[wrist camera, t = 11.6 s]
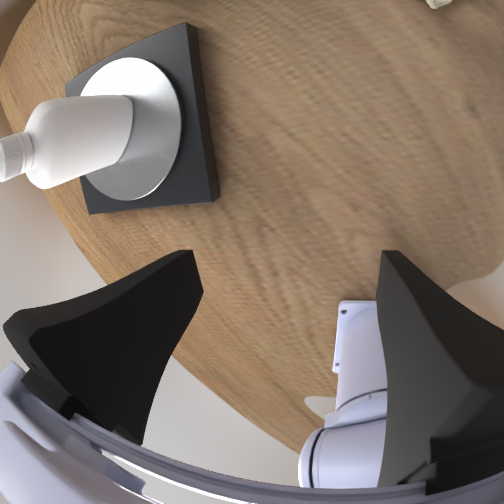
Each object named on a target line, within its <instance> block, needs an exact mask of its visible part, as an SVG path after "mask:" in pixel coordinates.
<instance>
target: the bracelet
mask: <svg viewBox="0 0 504 504" xmlns="http://www.w3.org/2000/svg"><path fill="white" fill-rule="evenodd" d="M452 1H453V0H426V2H427V3H428V4H429V5H430V7H431V8H432V9H437V8H438V7H440V6H443V5H446V4H449V3H451V2H452Z"/></svg>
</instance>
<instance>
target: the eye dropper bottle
mask: <svg viewBox="0 0 504 504" xmlns="http://www.w3.org/2000/svg"><path fill="white" fill-rule="evenodd" d="M132 119H133V105H132V102H131V100H130V99H128V98H127V97H124V96H121V95H117V94H104V95H88V96H76V97H67V98H59V99H53V100H48V101H44V102H42V103H40V104H39V105H38V106H37V107H36V108H35V110H34V111H33V113H32V115H31V117H30V118H29V121H28V123H27V125H26V128H25V131H24V132H21V133H17V134H14V135H10V136H7V137H4V138H1V139H0V181H1V182H4V181H6V180H8V179H10V178H13V177H15V176H17V175H20V174H22V173H25V172H26V174H27V176H28V178H29V180H30V181H31V182H32V183H33V184H34V185H35V186H37V187H39V188H41V189H48V188H51V187H54V186H57V185H59V184H62V183H64V182H67V181H69V180H72V179H74V178H77V177H79V176H82V175H85V174H87V173H90V172H93V171H95V170H98V169H101V168H104V167H107V166H110V165H112V164H114V163H116V162H117V161H118V160H119V158H120V157H121V155H122V153H123V151H124V149H125V147H126V145H127V142H128V139H129V136H130V132H131V127H132Z"/></svg>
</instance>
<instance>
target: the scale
mask: <svg viewBox="0 0 504 504" xmlns="http://www.w3.org/2000/svg"><path fill="white" fill-rule="evenodd" d="M130 57H132V58H141V59H145V60H149V61H151V62H153V63H155V64H157V65H158V66H160V67H161V68H163V69H164V70H165V71H166V72H167V73H168V74H169V76H170V77H171V79H172V80H173V81H174V83H175V85H176V87H177V89H178V91H179V94H180V97H181V100H182V104H183V109H184V119H185V128H184V138H183V144H182V148H181V152H180V155H179V157H178V160H177V163H176V164H175V166H174V168H173V170H172V172H171V173H170V175H169V176H168V178H167V179H166V180H165V181H164V182H163V184H162V185H161V186H159V187H158V188H157V189H156V190H155V191H153V192H151V193H150V194H148V195H146V196H144V197H141V198H139V199H135V200H117V199H114V198H111V197H109V196H106V195H105V194H103V193H101V192H100V191H99V190H98V189H96V188H95V187H94V186H93V185H92V184H91V183H90V181H89V180H88V179H87V177H86V176H85V175H82V176H79V177H80V182H81V186H82V190H83V194H84V198H85V201H86V205H87V209H88V212H89V215H92V214H99V213H107V212H116V211H124V210H133V209H143V208H153V207H164V206H175V205H188V204H201V203H213V202H214V201H215V200H217V199H218V198H219V197H220V191H219V185H218V179H217V172H216V166H215V160H214V153H213V147H212V140H211V134H210V127H209V120H208V113H207V106H206V99H205V92H204V85H203V78H202V70H201V62H200V55H199V47H198V39H197V30H196V27H195V26H193V25H191V24H189V23H187V22H185V23H182V24H179V25H177V26H174V27H171V28H169V29H166V30H164V31H161V32H159V33H156V34H154V35H152V36H149V37H147V38H145V39H143V40H140V41H138V42H136V43H134V44H132V45H130V46H128V47H126V48H124V49H122V50H120V51H118V52H116V53H114V54H112V55H111V56H109V57H107V58H105V59H103V60H102V61H100V62H98V63H97V64H95V65H93V66H92V67H90V68H88V69H87V70H85V71H84V72H82V73H80V74H79V75H77V76H76V77H74V78H73V79H71V80H70V81H69V82H67V83H66V84H65V86H66V98H67V97H76V96H80V95H81V93H82V91H83V89H84V88H85V86H86V84H87V83H88V82H89V80H90V79H91V78H92V77H93V76H94V75H95V74H96V72H98V71H99V70H100V69H101V68H102V67H104V66H106V65H107V64H109V63H111V62H113V61H115V60H118V59H122V58H130Z"/></svg>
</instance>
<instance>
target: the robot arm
mask: <svg viewBox="0 0 504 504" xmlns="http://www.w3.org/2000/svg"><path fill="white" fill-rule="evenodd" d="M203 292H204V291H203V287H202V284H201V280H200V276H199V273H198V269H197V265H196V261H195V257H194V254H193V250H178V251H175V252H173V253H170V254H168V255H166V256H164V257H162V258H160V259H158V260H156V261H154V262H152V263H151V264H149V265H147V266H145V267H143V268H141V269H139V270H137V271H136V272H134V273H132V274H130V275H128V276H126V277H124V278H122V279H120V280H118V281H116V282H114V283H112V284H109V285H107V286H105V287H103V288H100V289H98V290H96V291H93V292H91V293H88V294H85V295H82V296H79V297H76V298H73V299H70V300H67V301H63V302H60V303H56V304H51V305H47V306H42V307H36V308H29V309H22V310H19V311H17V312H15V313H14V314H13V315H12V316H11V317H10V318H9V320H7V321H6V322H5V323H4V324H3V330H4V332H5V334H6V336H7V338H8V340H9V341H10V343H11V344H12V346H13V347H14V349H15V350H16V351H17V353H18V354H19V355H20V357H21V358H22V359H23V361H24V362H25V363H26V365H27V366H28V367H29V368H30V369H29V371H28V372H27V373H26V372H25V371H24V370H23V369H22V368H21V367H20V366H18V365H17V364H16V363H15V362H13V361H10V362H9V364H8V365H7V366H6V367H5V369H4V370H3V371H2V372H1V373H0V492H1V493H2V495H3V496H4V497H5V499H6V500H7V501H8V503H9V504H163V503H161V502H158V501H156V500H154V499H152V498H149V497H147V496H145V495H143V494H142V490H143V488H144V486H145V484H146V482H145V481H144V480H142V479H140V478H138V477H137V476H135V475H133V474H131V473H130V472H128V471H126V470H125V469H123V468H122V467H120V466H119V465H117V464H116V463H115V462H113V461H112V460H110V459H109V458H107V457H105V456H104V455H102V451H101V450H103V451H105V452H107V453H108V454H110V455H112V456H114V457H116V458H117V459H120V460H121V461H123V462H125V463H127V464H129V465H131V466H133V467H135V468H138V469H139V470H142V471H144V472H146V473H148V474H151V475H153V476H155V477H158V478H160V479H162V480H165V481H167V482H170V483H173V484H175V485H178V486H181V487H184V488H187V489H190V490H192V491H196V492H199V493H202V494H206V495H209V496H212V497H215V498H219V499H223V500H227V501H231V502H236V503H240V504H504V330H503V329H500V328H499V327H497V326H495V325H493V324H492V323H490V322H488V321H487V320H485V319H483V318H482V317H480V316H479V315H477V314H475V313H474V312H472V311H471V310H469V309H468V308H467V307H465V306H464V305H462V304H461V303H459V302H458V301H457V300H455V299H454V298H453V297H452V296H450V295H449V294H448V293H447V292H445V291H444V290H443V289H442V288H440V287H439V286H438V285H437V284H436V283H434V282H433V281H432V280H431V279H430V278H429V277H428V276H426V275H425V274H424V273H423V272H422V271H421V270H420V269H419V268H418V267H417V266H415V265H414V264H413V263H412V262H411V261H410V260H409V259H408V258H407V257H405V256H404V255H403V254H402V253H401V252H399V251H392V250H382V255H381V264H380V272H379V280H378V287H377V293H376V301H357V300H344V301H341V302H340V303H339V312H338V324H337V335H336V345H335V353H334V362H333V372H334V373H339V376H338V388H337V399H336V409H335V412H333V413H329V414H326V419H325V426H324V427H321V428H317V429H316V430H314V431H313V432H312V433H311V434H310V436H309V437H308V439H307V441H306V442H305V444H304V446H303V448H302V451H301V454H300V458H299V466H298V476H299V482H300V486H301V487H296V486H286V485H278V484H271V483H264V482H258V481H252V480H247V479H242V478H237V477H233V476H229V475H224V474H220V473H216V472H213V471H209V470H205V469H202V468H199V467H195V466H192V465H189V464H186V463H183V462H180V461H177V460H174V459H171V458H169V457H166V456H163V455H160V454H158V453H155V452H153V451H150V450H148V449H146V448H143V447H141V445H142V444H143V438H144V433H145V429H146V424H147V420H148V416H149V413H150V409H151V406H152V403H153V399H154V396H155V393H156V391H157V388H158V385H159V382H160V379H161V377H162V375H163V372H164V370H165V367H166V365H167V362H168V360H169V358H170V356H171V354H172V352H173V351H174V349H175V347H176V345H177V344H178V342H179V340H180V339H181V337H182V335H183V333H184V332H185V330H186V328H187V326H188V325H189V323H190V321H191V319H192V318H193V316H194V314H195V312H196V310H197V308H198V305H199V303H200V300H201V297H202V295H203ZM342 310H347V311H345V312H343V311H342Z"/></svg>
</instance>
